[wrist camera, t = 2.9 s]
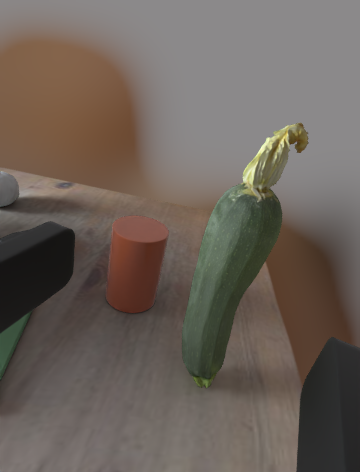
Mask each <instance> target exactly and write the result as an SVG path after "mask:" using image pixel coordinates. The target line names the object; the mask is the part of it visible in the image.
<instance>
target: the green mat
mask: <svg viewBox="0 0 360 472" xmlns="http://www.w3.org/2000/svg"><path fill="white" fill-rule="evenodd" d="M31 312H32V311H31ZM31 312H29V313H28V314H26V315H25V316H24V317H22V318H21V319H20V320H18V321H17V322H15V323H14V324H13V325H11V326H10V327H9V328H7V329H6V330H5V331H3V332H2V333H0V380H1V378H2V376H3V374H4V371H5V369H6V367H7V365H8V363H9V360H10V358H11V356H12V354H13V352H14V350H15V347H16V345H17V343H18V341H19V339H20V336H21V334H22V332H23V330H24V328H25V326H26V323H27V321H28V319H29V317H30V315H31Z"/></svg>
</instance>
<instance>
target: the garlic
mask: <svg viewBox="0 0 360 472" xmlns="http://www.w3.org/2000/svg"><path fill="white" fill-rule="evenodd" d="M18 197H19V186H18V182H17V181H16V179H15V178H14V177H13V176H12V175H10V174H8V173H5V172H0V207H1V206H6V205H9V204H11V203H13V202H14V201H15V199H17V198H18Z"/></svg>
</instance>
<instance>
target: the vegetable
mask: <svg viewBox="0 0 360 472" xmlns="http://www.w3.org/2000/svg"><path fill="white" fill-rule="evenodd" d="M307 134H308V133H307V132H306V131H305V129H304V127H303V124H302V123H298V124H295V125H290V126H288V125H286V127H285V128H284V129H281V130H279V131H275V132H274V135H275V136H273V137H272V138H267V139H266V142H265V144H264V145H262V147H261V149H260V150H259V152H258V154H257V156H255V157H254V159H253V161H252V162H250V163H249V164H248V166H247V167H246V169H245V170H244V172H243V180H244V182H243V183H242V184H239V185H236V186H234V187H232V188H230V189H229V190H227V191H226V192H225V193H224V194H223V196H222V197H221V198H220V199H219V201H218V202H217V204H216V206H215V208H214V210H213V212H212V214H211V216H210V219H209V221H208V224H207V227H206V230H205V233H204V236H203V239H202V243H201V248H200V252H199V257H198V262H197V266H196V270H195V273H194V276H193V281H192V286H191V292H190V296H189V301H188V306H187V310H186V315H185V319H184V323H183V330H182V354H183V361H184V363H185V365H186V367H187V369H188V371H189V373H190V374H191V375H192V376H193V378H194V381H195V382H196V383H197V385H198V386H199V387H201V388H202V387H203V386H206V388H208V387H209V386H210V385H211V382H212V380H213V379H214V378H215V376H216V374H217V372H218V371H219V370H220V369H221V367H222V365H223V362H224V358H225V353H226V348H227V344H228V341H229V338H230V333H231V329H232V325H233V320H234V315H235V312H236V309H237V307H238V304H239V302H240V299H241V298H242V296H243V294H244V292H245V291H246V290H247V288H248V287H249V286H250V284H251V283H252V282H253V280H254V279H255V277H256V276H257V274H258V273H259V271H260V269H261V267H262V266H263V264H264V262H265V261H266V259H267V257H268V255H269V253H270V252H271V250H272V248H273V246H274V244H275V243H276V241H277V238H278V235H279V233H280V228H281V223H282V210H281V205H280V202H279V200H278V198H277V197H276V195H275V194H274V192H273V191H272V190H271V189H270V187H271V186H272V185H274V184H276V182H277V181H278V180H279V178H280V176H281V174H282V172H283V169H284V167H285V165H286V163H287V160H288V152H289V151H290V150H289V147H290V144H294V143H295V142H296V141H297V144H296V145H295V149H296V150H297V153H301V151H303V150H304V149H305V148H306V146H307V144H308V141H307V140H308V136H307Z"/></svg>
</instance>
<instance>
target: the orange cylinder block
mask: <svg viewBox="0 0 360 472" xmlns="http://www.w3.org/2000/svg"><path fill="white" fill-rule="evenodd" d="M168 236H169V230H168V228H167V227H166V226H165V225H164V224H163V223H161V222H159V221H157V220H155V219H152V218H149V217H144V216H125V217H121V218H118V219H117V220H115V221H114V223H113V225H112V234H111V243H110V253H109V263H108V273H107V283H106V292H105V297H106V300H107V302H108V303H109V304H110V305H111V306H112V307H113V308H115V309H117V310H119V311H122V312H126V313H139V312H143V311H146V310H148V309H150V308H151V307H152V306H153V305H154V303H155V301H156V296H157V291H158V286H159V281H160V276H161V271H162V266H163V261H164V256H165V251H166V246H167V241H168Z"/></svg>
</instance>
